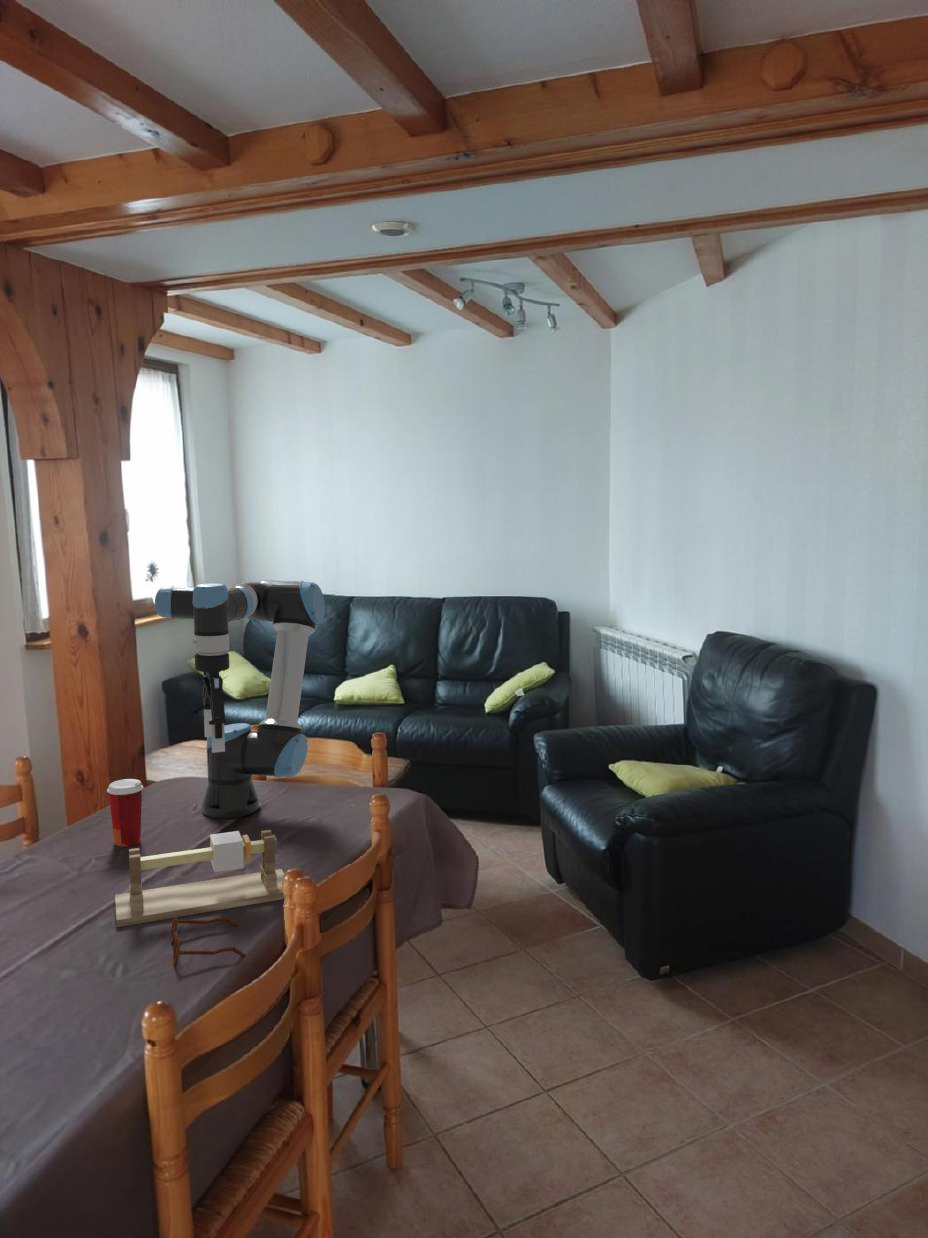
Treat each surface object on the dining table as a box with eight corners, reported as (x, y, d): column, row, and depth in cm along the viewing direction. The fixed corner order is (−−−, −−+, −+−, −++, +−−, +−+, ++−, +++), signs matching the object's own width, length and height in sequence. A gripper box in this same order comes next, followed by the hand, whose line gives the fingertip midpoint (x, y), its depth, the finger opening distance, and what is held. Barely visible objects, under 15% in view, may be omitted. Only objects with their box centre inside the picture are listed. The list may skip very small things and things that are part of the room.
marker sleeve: (210, 861, 185) (209, 834, 184) (239, 857, 187) (238, 830, 187) (214, 872, 180) (213, 845, 179) (243, 868, 182) (242, 841, 181)
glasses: (170, 937, 168) (169, 913, 167) (239, 926, 172) (238, 903, 172) (173, 972, 155) (172, 946, 155) (247, 959, 160) (247, 934, 159)
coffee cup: (151, 836, 216) (148, 778, 214) (135, 849, 208) (133, 789, 206) (119, 834, 217) (116, 777, 215) (102, 847, 209) (99, 788, 207)
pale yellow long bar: (132, 870, 178) (131, 850, 177) (274, 850, 189) (273, 831, 189) (133, 879, 174) (132, 858, 173) (278, 857, 185) (277, 838, 185)
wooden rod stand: (115, 901, 181) (112, 844, 179) (281, 875, 195) (280, 822, 193) (116, 927, 170) (114, 867, 169) (292, 897, 184) (292, 841, 182)
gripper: (188, 644, 204) (191, 731, 207) (201, 663, 181) (204, 760, 184) (221, 643, 207) (223, 728, 210) (237, 661, 184) (239, 757, 187)
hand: (214, 744), depth 197 cm, fingers open, 13 cm apart
